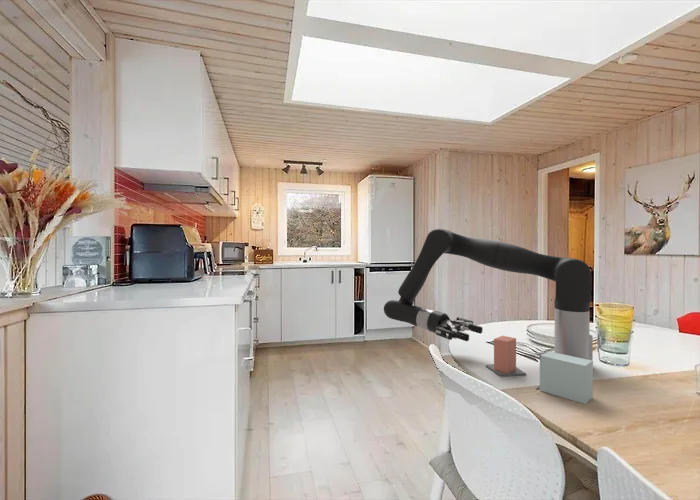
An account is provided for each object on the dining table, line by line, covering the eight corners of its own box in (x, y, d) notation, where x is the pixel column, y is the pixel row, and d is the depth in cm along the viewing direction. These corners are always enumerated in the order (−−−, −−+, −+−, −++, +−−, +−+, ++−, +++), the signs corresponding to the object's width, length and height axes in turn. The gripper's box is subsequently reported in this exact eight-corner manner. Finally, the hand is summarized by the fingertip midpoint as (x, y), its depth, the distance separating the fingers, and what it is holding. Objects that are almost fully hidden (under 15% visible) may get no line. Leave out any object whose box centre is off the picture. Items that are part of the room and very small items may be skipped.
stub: (493, 369, 100) (494, 338, 100) (502, 364, 104) (502, 335, 104) (507, 372, 97) (507, 341, 97) (516, 368, 101) (516, 338, 101)
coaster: (510, 365, 105) (510, 363, 105) (526, 375, 97) (526, 373, 97) (485, 366, 104) (485, 364, 104) (499, 376, 96) (499, 374, 96)
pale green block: (535, 389, 87) (535, 354, 87) (544, 383, 91) (544, 350, 91) (585, 404, 79) (585, 365, 79) (592, 397, 83) (592, 360, 82)
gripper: (420, 315, 115) (464, 329, 103) (443, 306, 124) (486, 317, 112) (420, 336, 116) (463, 352, 104) (443, 325, 125) (485, 338, 113)
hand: (475, 334), depth 108 cm, fingers open, 8 cm apart
